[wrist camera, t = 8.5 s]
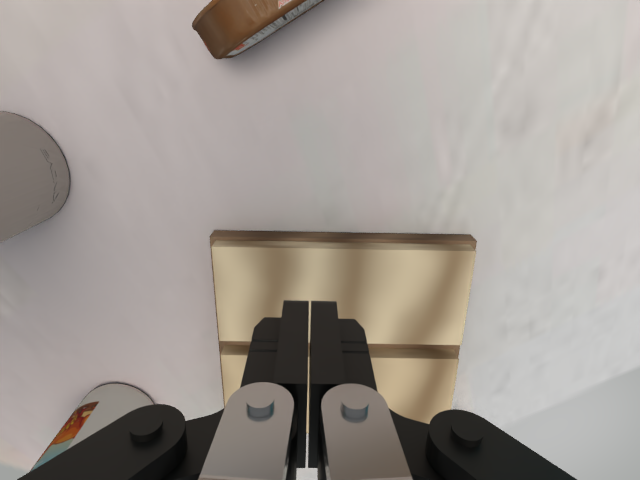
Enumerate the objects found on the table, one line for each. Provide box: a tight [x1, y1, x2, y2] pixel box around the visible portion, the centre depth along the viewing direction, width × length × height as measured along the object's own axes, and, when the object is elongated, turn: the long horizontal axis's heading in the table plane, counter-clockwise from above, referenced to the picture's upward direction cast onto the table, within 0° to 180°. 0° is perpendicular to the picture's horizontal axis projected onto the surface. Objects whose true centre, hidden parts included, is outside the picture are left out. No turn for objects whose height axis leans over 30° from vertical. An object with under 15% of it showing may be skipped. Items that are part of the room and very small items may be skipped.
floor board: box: [210, 230, 477, 433], centre depth 38 cm, size 22×20×3 cm
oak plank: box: [212, 240, 476, 345], centre depth 36 cm, size 21×9×2 cm, turn 89°
